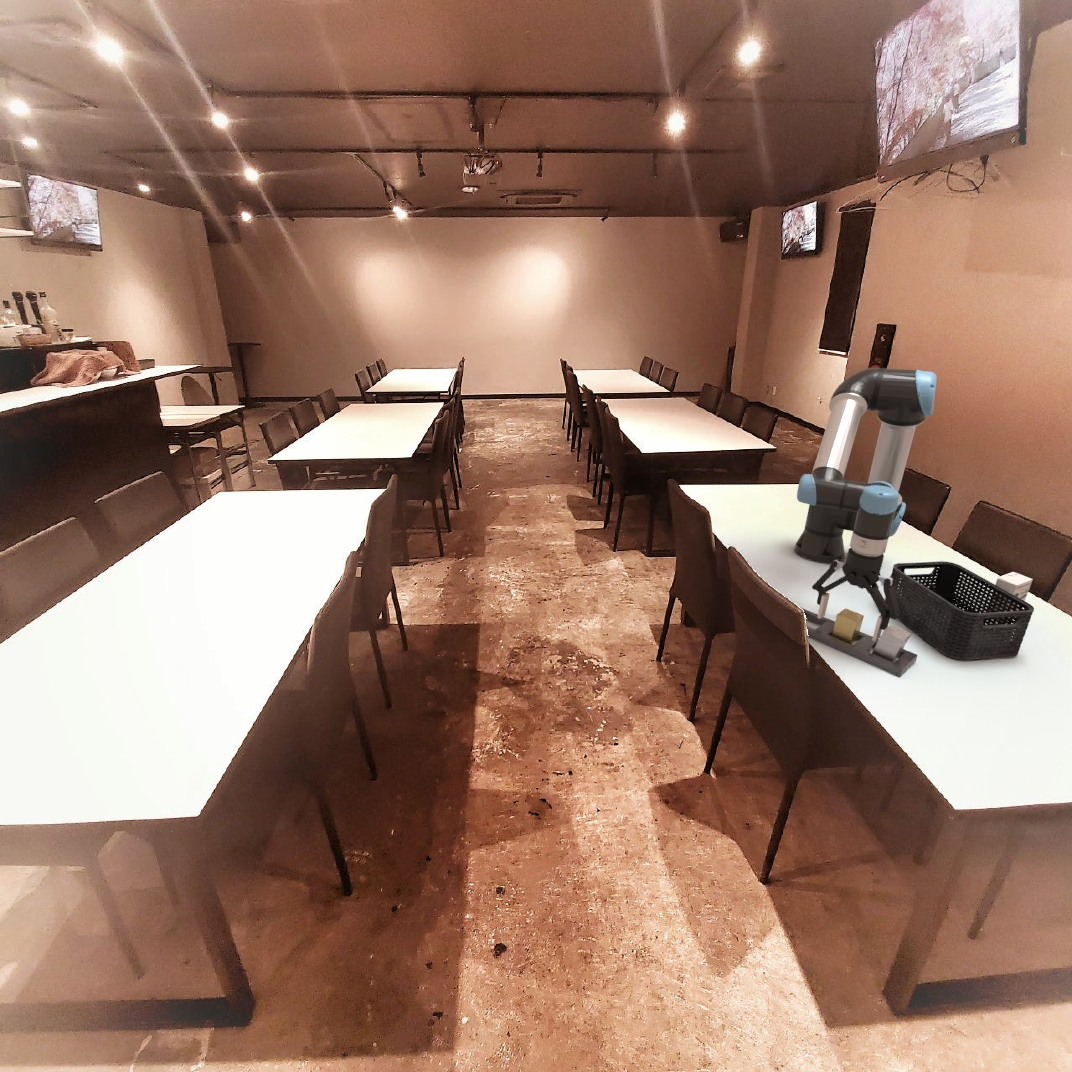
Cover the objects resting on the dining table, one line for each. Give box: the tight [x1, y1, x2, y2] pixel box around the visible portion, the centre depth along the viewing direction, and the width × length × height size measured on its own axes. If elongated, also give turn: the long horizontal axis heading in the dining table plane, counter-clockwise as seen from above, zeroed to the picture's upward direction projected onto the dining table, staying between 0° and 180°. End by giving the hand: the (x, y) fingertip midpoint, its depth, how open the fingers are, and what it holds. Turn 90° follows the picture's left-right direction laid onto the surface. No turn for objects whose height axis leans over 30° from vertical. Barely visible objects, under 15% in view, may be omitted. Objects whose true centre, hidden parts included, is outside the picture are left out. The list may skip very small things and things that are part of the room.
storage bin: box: [884, 560, 1035, 661], centre depth 153 cm, size 29×19×13 cm
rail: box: [801, 607, 918, 678], centre depth 149 cm, size 30×9×2 cm, turn 40°
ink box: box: [988, 571, 1034, 622], centre depth 160 cm, size 9×5×12 cm, turn 118°
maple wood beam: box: [832, 608, 865, 645], centre depth 148 cm, size 5×5×8 cm
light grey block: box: [871, 623, 912, 663], centre depth 141 cm, size 5×5×8 cm
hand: (847, 627), depth 148 cm, fingers open, 13 cm apart
